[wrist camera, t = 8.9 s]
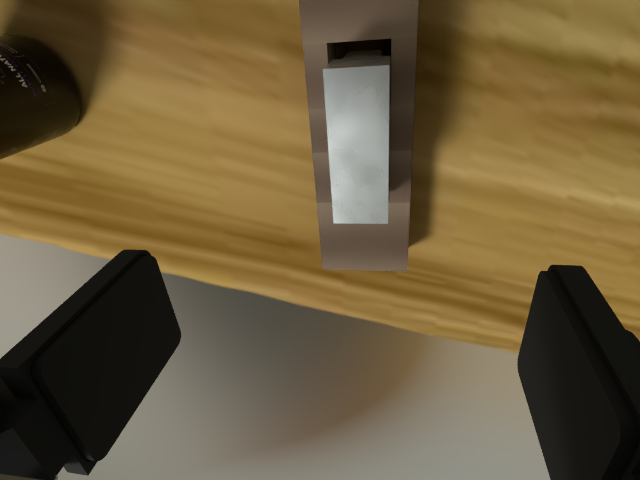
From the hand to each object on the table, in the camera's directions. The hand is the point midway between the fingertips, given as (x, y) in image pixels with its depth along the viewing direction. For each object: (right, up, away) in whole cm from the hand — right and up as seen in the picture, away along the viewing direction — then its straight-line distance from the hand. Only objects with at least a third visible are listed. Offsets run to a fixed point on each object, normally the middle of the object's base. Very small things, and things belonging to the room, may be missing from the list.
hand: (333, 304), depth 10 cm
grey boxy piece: (+3, +10, +16) cm, 19 cm away
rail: (+2, +10, +16) cm, 19 cm away
